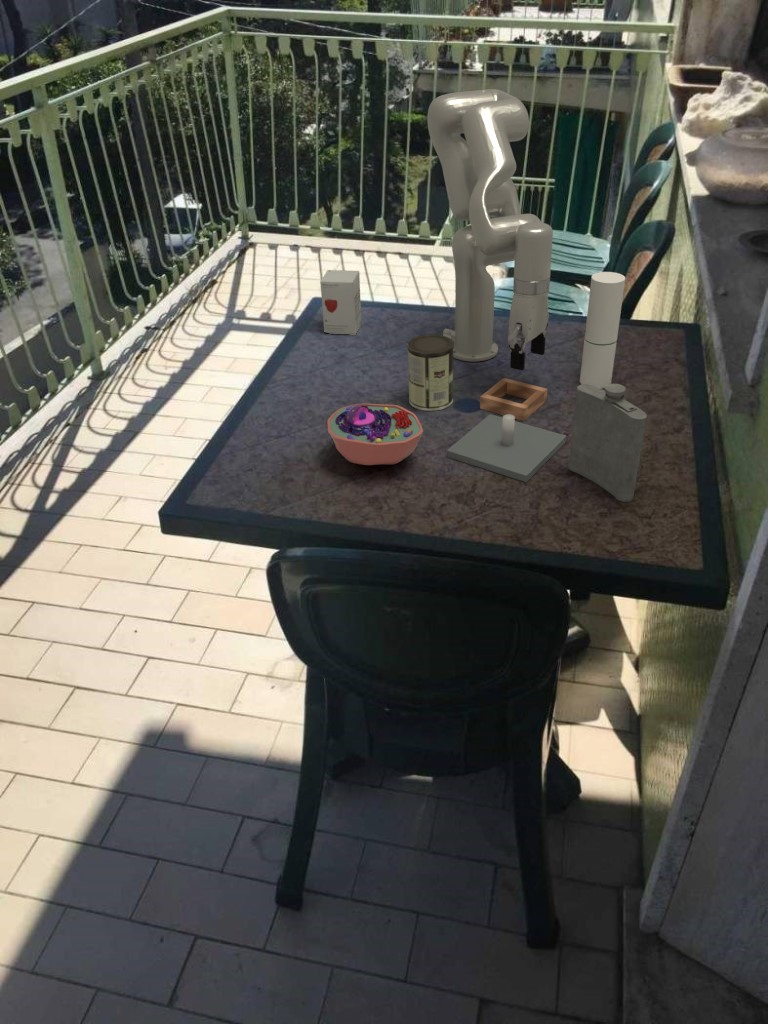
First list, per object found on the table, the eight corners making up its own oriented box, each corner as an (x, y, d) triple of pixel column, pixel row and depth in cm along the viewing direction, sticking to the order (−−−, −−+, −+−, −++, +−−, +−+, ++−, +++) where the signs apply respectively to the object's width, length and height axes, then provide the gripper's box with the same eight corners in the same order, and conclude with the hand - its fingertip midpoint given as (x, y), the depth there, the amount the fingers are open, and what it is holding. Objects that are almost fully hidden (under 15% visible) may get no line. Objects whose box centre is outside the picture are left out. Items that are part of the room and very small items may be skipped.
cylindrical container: (609, 375, 194) (623, 271, 179) (612, 388, 188) (627, 283, 173) (578, 374, 194) (589, 271, 180) (581, 388, 189) (593, 283, 174)
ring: (479, 408, 182) (480, 396, 181) (503, 389, 190) (504, 377, 188) (524, 421, 177) (524, 408, 175) (546, 400, 184) (547, 388, 182)
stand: (446, 456, 166) (447, 424, 162) (489, 420, 178) (491, 389, 174) (526, 482, 157) (528, 449, 153) (566, 442, 169) (569, 410, 165)
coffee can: (428, 386, 192) (428, 330, 184) (462, 399, 186) (463, 341, 178) (398, 402, 186) (397, 344, 178) (433, 416, 180) (433, 357, 172)
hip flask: (564, 466, 161) (574, 374, 150) (580, 460, 163) (591, 369, 152) (624, 504, 150) (640, 407, 139) (640, 496, 152) (656, 401, 140)
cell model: (396, 491, 157) (394, 440, 150) (312, 465, 166) (307, 416, 159) (439, 451, 168) (439, 402, 161) (358, 428, 177) (355, 381, 170)
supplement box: (323, 335, 219) (318, 280, 211) (330, 322, 227) (326, 269, 218) (356, 336, 218) (353, 281, 209) (362, 323, 225) (359, 269, 217)
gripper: (533, 271, 179) (530, 345, 188) (495, 294, 167) (493, 371, 177) (565, 276, 175) (559, 351, 184) (528, 300, 163) (524, 378, 173)
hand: (527, 361), depth 180 cm, fingers open, 9 cm apart
